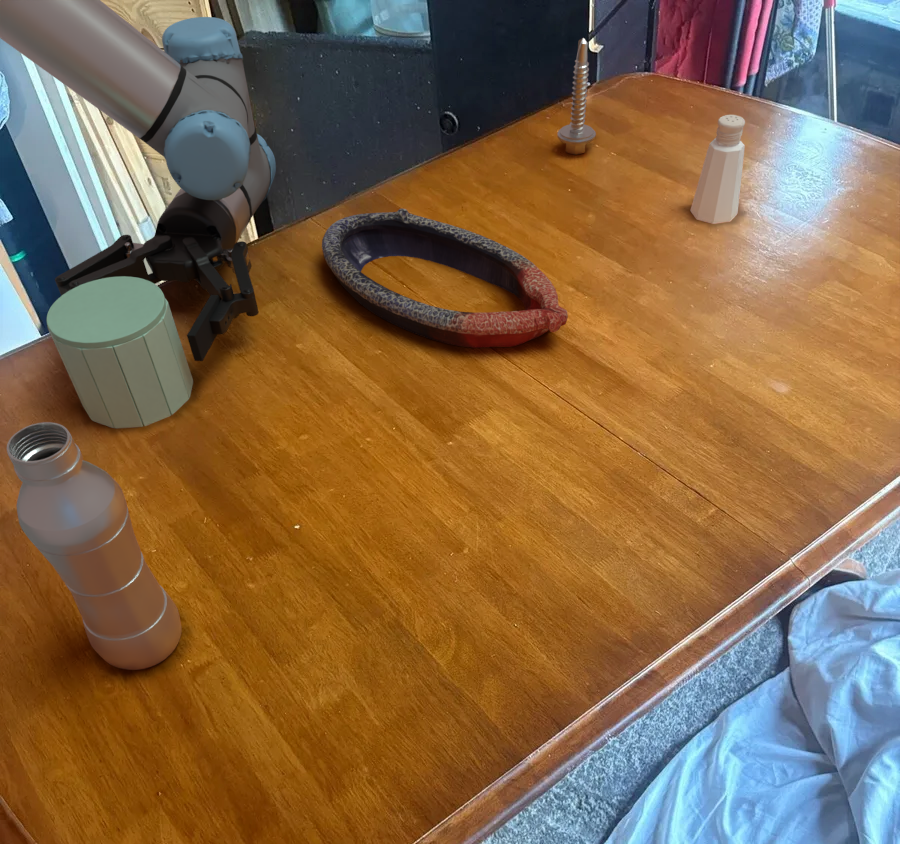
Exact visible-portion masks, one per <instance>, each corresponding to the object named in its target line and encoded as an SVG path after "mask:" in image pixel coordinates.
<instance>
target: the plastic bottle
mask: <svg viewBox="0 0 900 844" xmlns="http://www.w3.org/2000/svg"><path fill="white" fill-rule="evenodd" d="M6 453H7V455H8V456H7V457H8V458H9V460H10V461H11V463H12V465H13V471H14V472H15V475H16V476H17V478H18V479H19V480H20V482H22V483H21V486H20V488H19V491H18V497H17V500H16V513H17V518H18V524H19V526H20V528H21V531H22V532H23V533H24V534H25V536H26V537H27V538H28V539H29V541H30V542H31V543H32V544H33V546H34V547H35V548H36V549H37V550H38V551H39V553H41V554H42V556H43V557H44V558H45V559H46V560H47V561H48V563H49V564H50V565H51V566H52V567H53V569H54V570H55V571H56V573H57V574H58V577H60V580H62V582H63V583H64V585H65V586H66V588H67V589H68V590H69V592H70V593H71V595H72V599H73V600H74V603H75V604H76V606H77V609H78V612H79V613H80V615H81V618H82V623H83V628H84V631H85V634H86V636H87V639H88V642H89V645H90V646H91V648H92V649H93V650H94V651H95V652H96V653H97V654H98V656H100V657H101V659H103V660H104V661H105V662H106V663H107V664H108V665H110V666H112V667H115V668H118V669H122V670H127V671H139V670H140V671H141V670H146V669H149V668H152V667H154V666H156V665H159V664H160V663H162V662H163V661H165V660H166V659H167V658H168V657H169V656H171V654H173V652H174V651H175V650H176V648H177V647H178V644H179V642H180V640H181V637H182V622H181V617H180V612H179V609H178V607H177V605H176V603H175V601H174V600H173V599H172V598H171V596H170V595H169V593H168V592H167V591H166V590H165V589H164V588H163V586H162V585H161V584H160V583H159V581H158V580H157V578H156V577H155V575H154V573H153V572H152V570H151V568H150V567H149V565H148V564H147V562H146V560H145V557H144V553H143V552H142V550H141V548H140V544H139V541H138V539H137V536H136V534H135V531H134V527H133V523H132V519H131V515H130V511H129V508H128V504H127V499H126V496H125V494H124V491H123V489H122V487H121V485H120V484H119V482H117V481H116V480H115V479H114V478H113V477H112V476H111V475H110V474H109V473H108V472H107V471H106V470H104V469H102V468H101V467H99V466H98V465H95V464H94V463H91V462H89V461H88V460H84V456H83V453H82V452H81V448H79V445H77V444H76V442H75V440H74V437H73V436H72V434H71V432H70V431H69V430H68V428H67V427H65V426H64V425H62V424H60V423H57V422H51V421H42V422H37V423H32V424H30V425H27V426H25V427H22V428H21V429H20V430H18V431H16V432H15V433H14V434H13V435H11V437H10V438H9V439H8V441H7V444H6Z"/></svg>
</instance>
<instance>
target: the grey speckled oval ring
mask: <svg viewBox="0 0 900 844" xmlns="http://www.w3.org/2000/svg"><path fill="white" fill-rule="evenodd" d="M321 249H322V254H323V258H324V260H325V262H326V264H327V266H328V268H329V269H330V270H331V272H332V273H333V275H334V276H335V278H336V280H337V281H338V282H339V284H340V285H341V286H342V287H343V288H344V290H345V291H346V292H347V293H348V294H349V295H350V296H351V297H352V298H353V299H354V300H355V301H357V303H359V304H360V305H361V306H362V307H364V308H365V309H366V310H367V311H369V312H371V313H372V314H374V315H375V316H377V317H379V318H381V319H383V320H384V321H386V322H388V323H390V324H392V325H394V326H397V327H398V328H401V329H403V330H406V331H408V332H410V333H413V334H415V335H417V336H421V337H423V338H426V339H428V340H432V341H435V342H439V343H442V344H447V345H452V346H457V347H463V348H474V349H477V348H478V349H479V348H480V349H481V348H495V347H499V348H508V347H516V346H519V345H522V344H524V343H527V342H529V341H532V340H534V339H536V338H539V337H541V336H543V335H545V333H547V332H548V331H549V332H550V333H556V332H557V331H559V330H560V328H561V326H565V325H566V324H567V321H568V318H569V316H568V310H567V309H565V308H563V307H562V306H560V305H559V296H558V293H557V289H556V287H555V286H554V284H553V283H552V281H551V280H550V279H549V277H548V276H547V275H546V274H545V273H544V272H543V271H542V270H541V269H540V268H539V267H538V266H537V265H536V264H535V263H533V262H532V261H531V260H529V259H528V258H527V257H525V256H524V255H522V254H520V253H518V252H516V251H515V250H513V249H511V248H510V247H507V246H506V245H503V244H501V243H499V242H497V241H495V240H494V239H493V240H492V239H491V238H488V237H486V236H483V235H481V234H479V233H476V232H474V231H471V230H467V229H465V228H461V227H458V226H455V225H452V224H449V223H446V222H441V221H438V220H435V219H431V218H427V217H423V216H420V215H416V214H412V213H410V212H409V211H408V209H406V208H399V209H398V210H397V211H393V212H392V211H390V212H386V211H385V212H369V213H368V212H366V213H359V214H353V215H349V216H345V217H343V218H341V219H338V220H336V221H335V222H333V223H332V224H331V225H330V226H329V227H328V228H327V229H326V231H325V233H324V235H323V237H322V239H321ZM387 257H406V258H407V257H409V258H416V259H421V260H425V261H429V262H433V263H436V264H439V265H442V266H445V267H448V268H451V269H455V270H457V271H459V272H462V273H465V274H467V275H470V276H472V277H474V278H477V279H479V280H482V281H484V282H486V283H489V284H491V285H494V286H496V287H499V288H501V289H503V290H505V291H507V292H509V293H511V294H513V295H514V296H515V297H516V298H518V300H520V301H521V302H522V305H523V306H524V310H512V311H490V312H472V311H470V312H469V311H460V310H453V309H447V308H442V307H438V306H434V305H430V304H427V303H424V302H421V301H418V300H415V299H412V298H410V297H407V296H405V295H403V294H400V293H398V292H396V291H394V290H391V289H390V288H387V287H385V286H384V285H382V284H381V283H378V282H377V281H375V280H373V279H372V278H370V277H368V276H367V275H366V274H365V273H363V272H362V270H363V268H364V267H365V266H366V265H367V264H369V263H371V262H373V261H375V260H378V259H382V258H387Z"/></svg>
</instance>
